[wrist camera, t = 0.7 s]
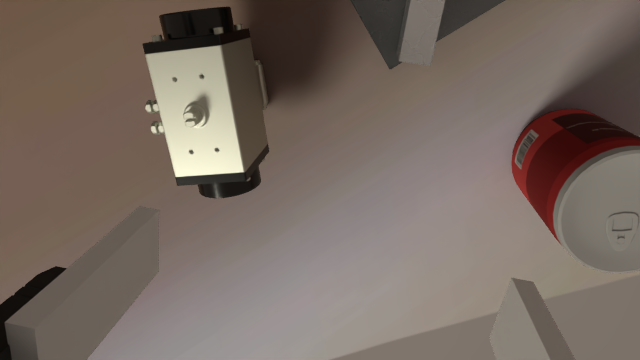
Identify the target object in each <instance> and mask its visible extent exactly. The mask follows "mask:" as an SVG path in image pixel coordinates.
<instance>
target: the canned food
mask: <svg viewBox="0 0 640 360" xmlns="http://www.w3.org/2000/svg"><path fill="white" fill-rule="evenodd" d="M512 173H513V176H514V179H515V182H516V183H517V185H518V187H519V188H520V190H521V191H522V193H523V194H524V195H525V197H526V198H527V199H528V201H529V202H530V204H531V205H532V206H533V208H534V209H535V210H536V212H537V213H538V215H539V216H540V217H541V219H542V220H543V222H544V223H545V224H546V226H547V227H548V228H549V230H550V231H551V233H552V234H553V235H554V237H555V238H556V239H557V240H558V242H559V243H560V244H561V246H562V247H563V248H564V249H565V250H566V251H567V252H568V253H569V254H570V255H571V256H572V257H573V258H574V259H575V260H576V261H578V262H579V263H581V264H582V265H584V266H586V267H588V268H591V269H593V270H596V271H601V272H605V273H620V274H621V273H629V272H635V271H639V270H640V137H638V136H636V135H634V134H632V133H630V132H628V131H626V130H624V129H622V128H620V127H618V126H616V125H614V124H612V123H610V122H608V121H606V120H605V119H603V118H601V117H599V116H597V115H595V114H592V113H590V112H588V111H584V110H579V109H563V110H558V111H553V112H550V113H547V114H545V115H542V116H541V117H539V118H537V119H536V120H534V121H533V122H532V123H530V124H529V125H528V126H527V127H526V128H525V129H524V131H523V132H522V133H521V134H520V136H519V138H518V140H517V141H516V143H515V147H514V150H513V155H512Z"/></svg>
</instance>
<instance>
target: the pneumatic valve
mask: <svg viewBox="0 0 640 360" xmlns="http://www.w3.org/2000/svg"><path fill="white" fill-rule="evenodd" d="M159 18H160V23H161V27H162V31H163V36H164V40H162V36H161V35H154V36H152V40H153V41H152V42H149V43H143V48H144V52H145V56H146V60H147V64H148V68H149V72H150V76H151V80H152V84H153V89H154V93H155V97H156V100H155V101H152V100H148V101H147V102H146V110H147V112H148V113H150V114H155V112H156V113H160V117H161V121H160V122H157V121H156V122H153V123H152V124H151V130H152V133H153V134H156V135H159V134H165V137H166V141H167V145H168V149H169V153H170V157H171V161H172V166H173V170H174V174H175V178H176V182H177V186H181V185H195V184H198V188H199V192H200V194H201V195H203V196H205V197H209V198H226V197H232V196H237V195H240V194H244V193H246V192H249V191H251V190H253V189H255V188H256V187H257V186H258V185H259V184H260V182H261V177H260V171H259V164H260V163H261V162H262V161H264V160H265V159H264V158H265V156H266V155H267V154H268V152H269V147H268V141H267V135H266V129H265V123H264V117H263V111H262V110H265V108H267V103H269V102H268V95H267V89H266V83H265V76H264V70H263V64H260V60H254V57H253V51H252V45H251V39H250V33H249V28H248V29H242V24H237V25H234V24H233V18H232V13H231V8H230V7H217V8H207V9H198V10H190V11H182V12H175V13H168V14H163V15H160V16H159Z"/></svg>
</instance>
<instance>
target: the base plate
mask: <svg viewBox="0 0 640 360" xmlns="http://www.w3.org/2000/svg"><path fill="white" fill-rule="evenodd" d="M503 1H505V0H445V3H444V8H443V13H442V17H441V22H440V26H439V31H438V35H437V40H436V42H437V41H438V40H440V39H442V38H443V37H445V36H447V35H448V34H450V33H452V32H453V31H455V30H457V29H458V28H460V27H462V26H463V25H465V24H467V23H468V22H470V21H472V20H473V19H475V18H477V17H478V16H480V15H482V14H483V13H485V12H487V11H488V10H490V9H491V8H493V7H495V6H496V5H498V4H500V3H501V2H503ZM351 2H352V4H353V5H354V7H355V9H356V11H357V13H358V14H359V16H360V18H361V20H362V21H363V23H364V25H365V27H366V28H367V30H368V32H369V34H370V35H371V37H372V39H373V41H374V42H375V44H376V46H377V48H378V50H379V51H380V53H381V55H382V57H383V58H384V60H385V62H386V64H387V65H388V67H389V69H392V68H394V67H395V66H397V65H398V64H400V63H402V62H401V61H399V60H398V56H397V48H398V42H399V37H400V32H401V27H402V21H403V16H404V11H405V6H406V0H351Z"/></svg>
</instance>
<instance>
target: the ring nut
mask: <svg viewBox="0 0 640 360" xmlns="http://www.w3.org/2000/svg"><path fill="white" fill-rule="evenodd" d="M444 3H445V0H406V6H405V11H404V16H403V21H402V27H401V32H400V37H399V42H398V48H397V56H398V60H399V61H401V62H408V63H414V64H421V65H428V66H431V62H432V58H433V53H434V49H435V44H436V40H437V35H438V31H439V26H440V22H441V17H442V13H443V8H444Z"/></svg>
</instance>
